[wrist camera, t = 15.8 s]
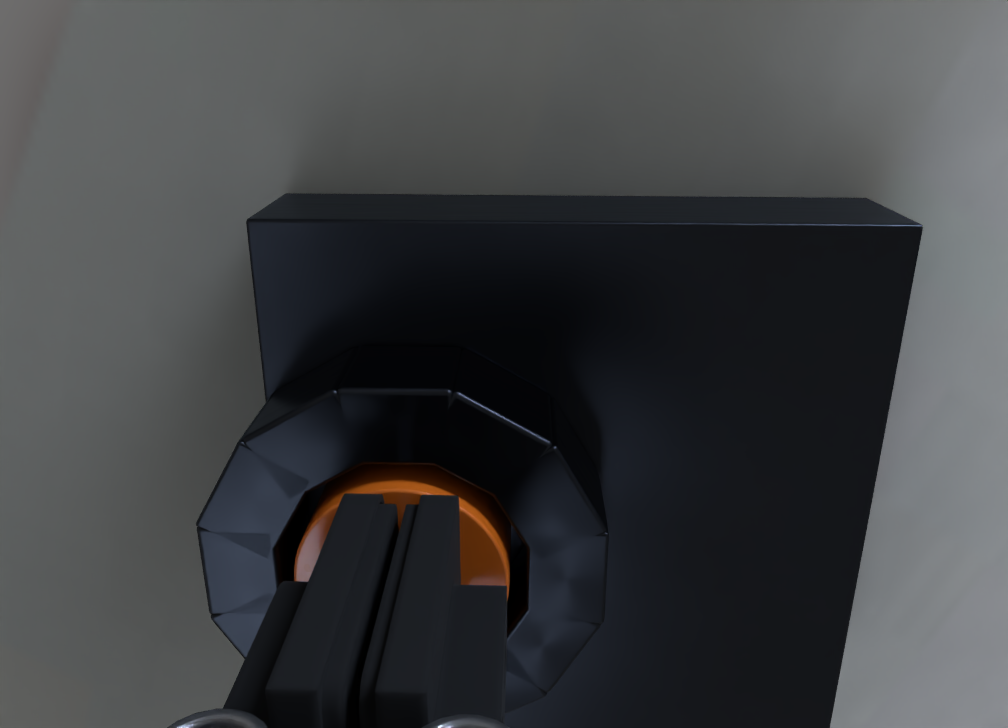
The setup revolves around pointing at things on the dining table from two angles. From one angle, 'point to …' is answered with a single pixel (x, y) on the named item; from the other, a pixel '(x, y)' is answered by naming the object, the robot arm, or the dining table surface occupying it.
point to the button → (404, 484)
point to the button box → (591, 427)
